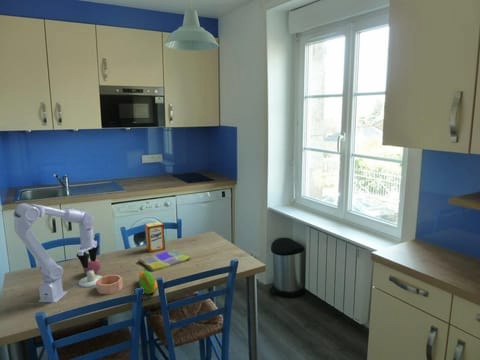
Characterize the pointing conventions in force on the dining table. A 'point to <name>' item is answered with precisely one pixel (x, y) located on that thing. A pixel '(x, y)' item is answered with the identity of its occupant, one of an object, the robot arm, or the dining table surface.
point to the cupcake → (92, 267)
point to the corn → (147, 282)
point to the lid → (89, 279)
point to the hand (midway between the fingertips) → (89, 264)
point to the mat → (83, 287)
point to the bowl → (109, 284)
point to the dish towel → (163, 260)
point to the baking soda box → (155, 236)
